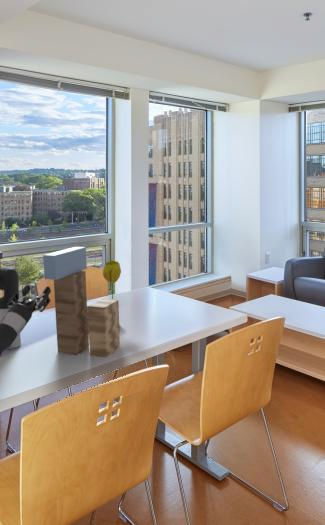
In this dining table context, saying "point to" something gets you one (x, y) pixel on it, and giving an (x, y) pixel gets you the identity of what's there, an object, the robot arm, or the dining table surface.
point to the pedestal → (71, 313)
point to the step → (104, 327)
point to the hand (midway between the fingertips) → (39, 287)
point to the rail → (64, 262)
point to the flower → (112, 272)
